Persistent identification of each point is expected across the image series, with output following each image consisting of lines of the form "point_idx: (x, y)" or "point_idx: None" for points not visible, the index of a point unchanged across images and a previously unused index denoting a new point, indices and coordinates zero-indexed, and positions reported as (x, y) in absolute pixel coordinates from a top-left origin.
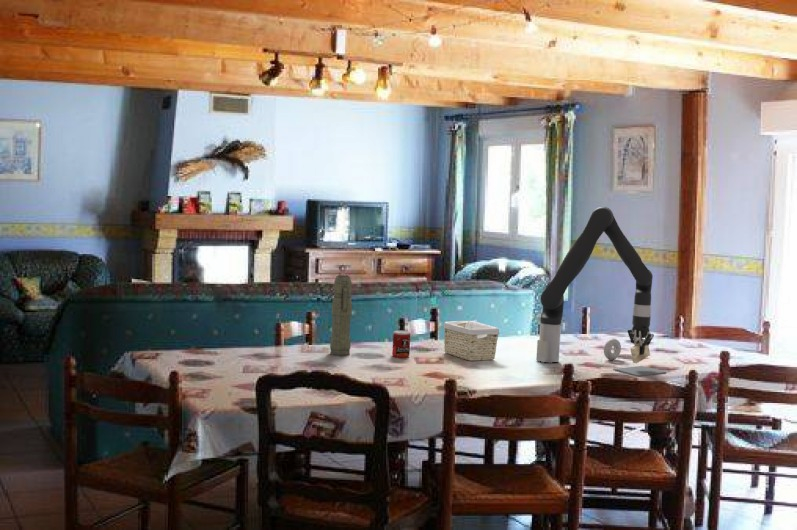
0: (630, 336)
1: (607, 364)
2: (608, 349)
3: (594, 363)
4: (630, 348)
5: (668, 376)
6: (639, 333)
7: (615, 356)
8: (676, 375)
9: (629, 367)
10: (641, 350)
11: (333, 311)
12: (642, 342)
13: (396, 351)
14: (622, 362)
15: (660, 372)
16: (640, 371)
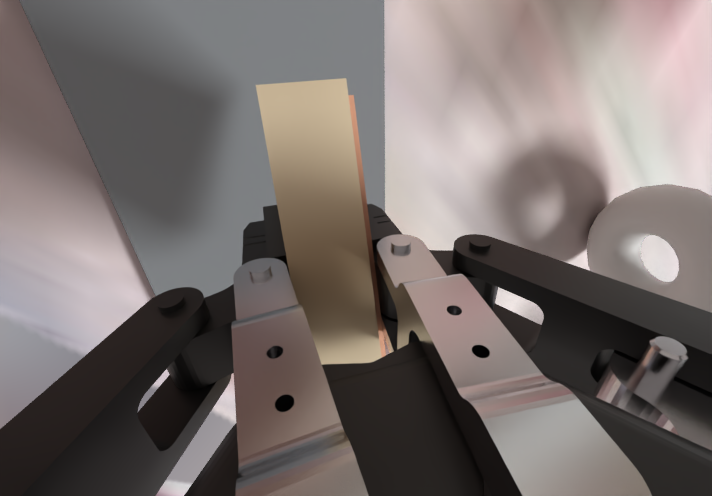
0: (583, 288)
1: (550, 92)
2: (673, 209)
3: (630, 6)
4: (338, 79)
5: (31, 262)
6: (320, 478)
7: (596, 248)
8: (81, 334)
9: (374, 148)
10: (261, 241)
11: None
12: (238, 319)
13: None
14: (524, 241)
15: (142, 264)
16: (204, 122)
